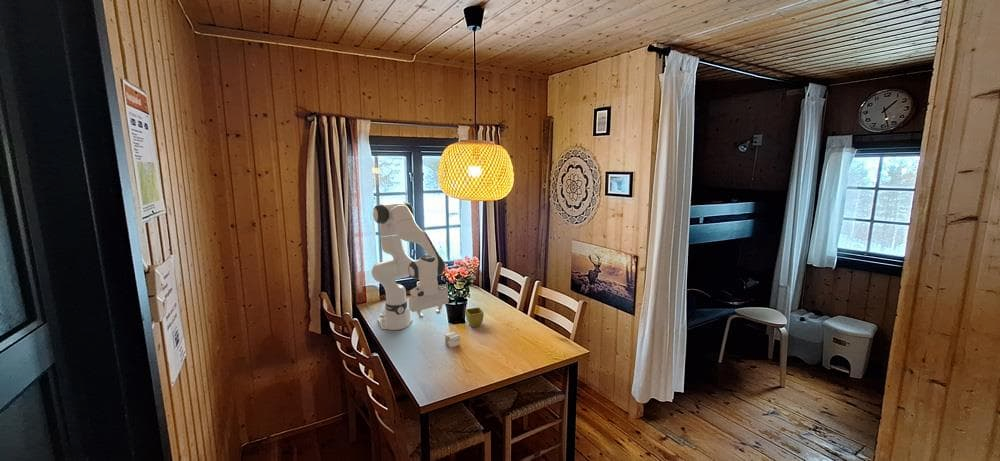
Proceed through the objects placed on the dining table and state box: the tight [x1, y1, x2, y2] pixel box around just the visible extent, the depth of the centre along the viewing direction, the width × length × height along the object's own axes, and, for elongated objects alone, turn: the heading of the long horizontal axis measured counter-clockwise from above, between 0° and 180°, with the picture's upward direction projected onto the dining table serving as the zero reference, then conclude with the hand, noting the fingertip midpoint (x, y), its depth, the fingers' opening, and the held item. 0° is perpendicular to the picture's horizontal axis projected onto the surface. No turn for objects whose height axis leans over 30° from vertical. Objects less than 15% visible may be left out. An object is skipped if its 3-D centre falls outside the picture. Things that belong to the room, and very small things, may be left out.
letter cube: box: [444, 331, 461, 349], centre depth 204 cm, size 6×6×6 cm
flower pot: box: [464, 306, 485, 328], centre depth 228 cm, size 9×9×9 cm
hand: (429, 315), depth 194 cm, fingers open, 8 cm apart
